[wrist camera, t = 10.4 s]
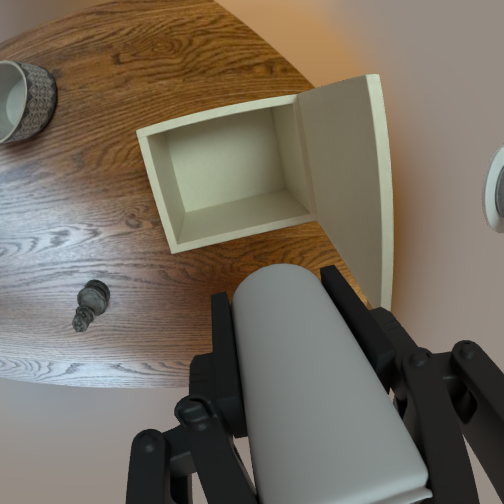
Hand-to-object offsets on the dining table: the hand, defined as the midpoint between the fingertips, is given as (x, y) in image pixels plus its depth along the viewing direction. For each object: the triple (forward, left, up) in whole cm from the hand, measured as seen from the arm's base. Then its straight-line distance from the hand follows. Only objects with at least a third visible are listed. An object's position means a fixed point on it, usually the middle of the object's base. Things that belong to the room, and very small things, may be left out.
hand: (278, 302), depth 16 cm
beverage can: (0, 0, -1) cm, 1 cm away
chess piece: (+29, +14, -35) cm, 48 cm away
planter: (+30, -23, -35) cm, 52 cm away
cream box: (0, -3, -35) cm, 35 cm away
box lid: (-7, -3, -11) cm, 13 cm away
